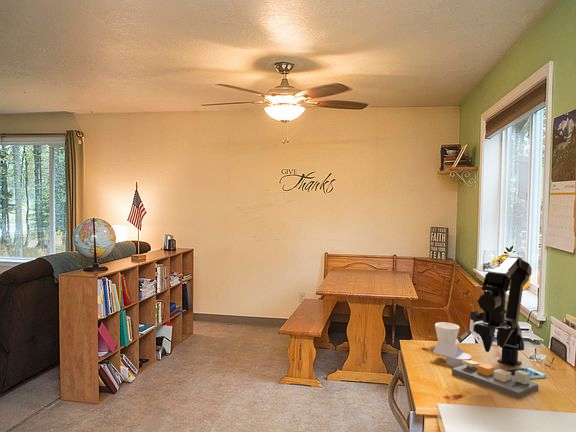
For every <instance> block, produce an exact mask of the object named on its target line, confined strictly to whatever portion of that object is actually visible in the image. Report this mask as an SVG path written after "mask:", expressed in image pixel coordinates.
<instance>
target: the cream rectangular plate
mask: <svg viewBox="0 0 576 432" xmlns="http://www.w3.org/2000/svg"><path fill="white" fill-rule="evenodd" d="M462 364H465V365H468V366H471V367H478V365H480V364H482V363H480V362H477V361H475V360H472V359H471V360H463V361H462Z"/></svg>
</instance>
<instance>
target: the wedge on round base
mask: <svg viewBox="0 0 576 432" xmlns="http://www.w3.org/2000/svg"><path fill="white" fill-rule="evenodd" d="M432 353H433V354H437V355H441V356H444V357H445V363H446V364H447V365H448V366H450V367H452V368H455V367H459V366H462V365H465V364H462V361H463V360H472V356H471V355H470V354H469V353H467V352H463V351H462V348H461V347H460V346H459V345H450V344H446V343H442V342H438V341H437V342H436V344H435V347H434V349H433V350H432Z"/></svg>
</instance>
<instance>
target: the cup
mask: <svg viewBox="0 0 576 432" xmlns="http://www.w3.org/2000/svg"><path fill="white" fill-rule="evenodd" d="M434 328H435V331H436V337H437V342H442V343H446V344H450V345H455V344H456V341H457V339H458V334H459V331H460V326H459V325H458V324H456V323H451V322H445V321H444V322H443V321H441V322H440V321H439V322H436V323H435V324H434ZM455 346H456V345H455Z"/></svg>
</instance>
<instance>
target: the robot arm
mask: <svg viewBox="0 0 576 432" xmlns="http://www.w3.org/2000/svg"><path fill="white" fill-rule="evenodd" d="M532 270H533V269H532V267H531V265H530V263H528V262H527V261H526V260H523V258H522V257H520V256H516V255H508V256H506V258H505V259H504V261H503V262H502V263H501V264H500V265H499V266H498V267H497V268H492V269H490V270H488V271H487V272H486V273H485V276H484V280H483V283H482V286H481V291H484V293H483V294H481V296H480V297H479V298H478V301H477V302H478V306H479V307H480V309H481V310H483V311H479V312H478V310H471V311H470V315H469V318H470V319H471V321H473V323H475V324H474V325H473V327H472V328H473V330H472V331H473V332H475V334H477V335H478V336H480V338H481V341H482V343H483V348H484V351H485V353H490V350H491V348H492V345H493V342H494V340H495V337H496V346H498V347H499V348H501V356H500V357H501V358H500V359H498V360H497V362H498V363H501V364H505V365H507V366H510V367H516V366H518V365H519V366H520V365H521V364H522V363H523V362H522V361H519V351H524V350H525V341H524V338H523V335H522V328H521V327H520V324H519V320H520V319H519V318H520V311H521V305H522V297H523V290H524V286H525V285H526V284H527V283H528V282H529V281H530V277H531V275H532ZM507 292H508V297H507V298H508V299H507V298H506V296H507V295H506V294H507ZM506 299H507V300H506ZM506 301H507V304H506ZM496 330H497V332H496ZM495 333H496V334H495Z"/></svg>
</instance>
